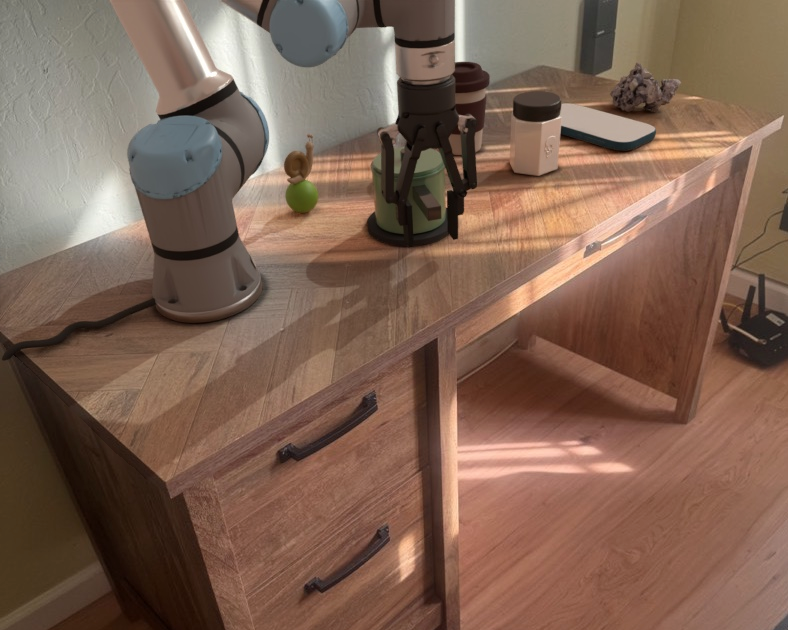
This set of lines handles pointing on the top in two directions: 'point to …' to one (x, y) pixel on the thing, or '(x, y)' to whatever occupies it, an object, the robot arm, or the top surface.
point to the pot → (413, 193)
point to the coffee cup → (469, 100)
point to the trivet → (399, 238)
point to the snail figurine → (300, 180)
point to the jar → (535, 132)
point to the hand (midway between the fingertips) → (430, 239)
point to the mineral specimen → (643, 90)
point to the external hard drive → (604, 128)
